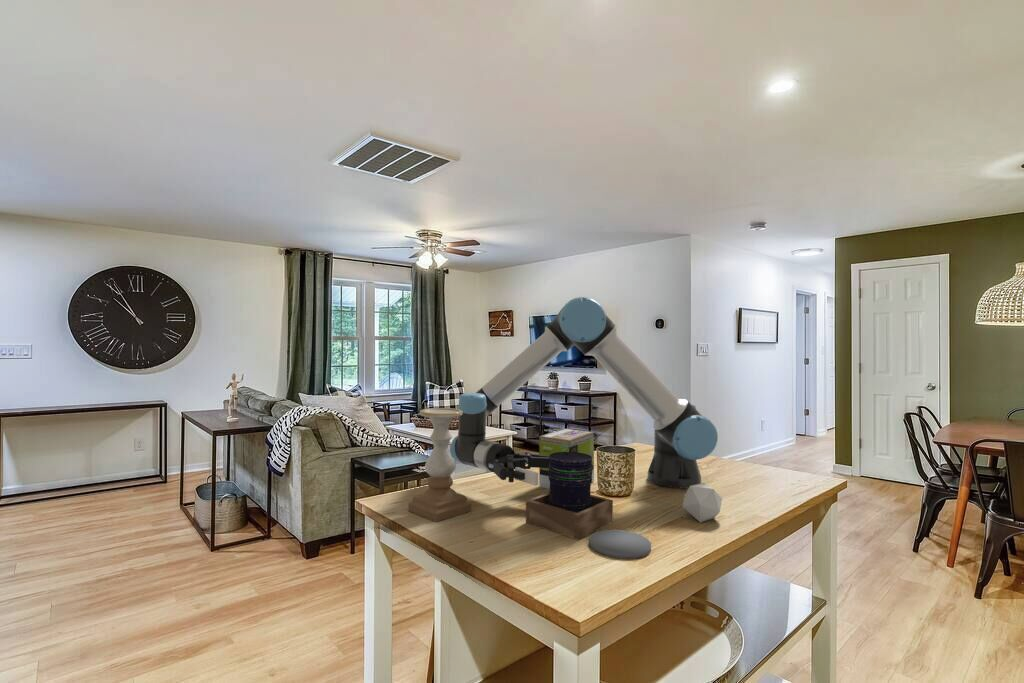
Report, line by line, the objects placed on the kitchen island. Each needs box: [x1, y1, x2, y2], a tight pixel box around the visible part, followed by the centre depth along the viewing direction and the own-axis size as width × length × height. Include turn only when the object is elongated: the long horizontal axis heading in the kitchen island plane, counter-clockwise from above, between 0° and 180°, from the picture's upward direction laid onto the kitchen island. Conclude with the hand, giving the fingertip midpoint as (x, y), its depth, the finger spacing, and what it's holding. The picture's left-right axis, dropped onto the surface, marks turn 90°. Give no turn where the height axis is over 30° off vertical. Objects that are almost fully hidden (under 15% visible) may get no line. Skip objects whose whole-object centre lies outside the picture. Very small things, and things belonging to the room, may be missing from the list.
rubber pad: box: [589, 529, 652, 560], centre depth 103 cm, size 12×12×1 cm
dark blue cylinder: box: [548, 452, 593, 513], centre depth 116 cm, size 10×10×15 cm
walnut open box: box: [525, 491, 614, 540], centre depth 116 cm, size 14×14×5 cm
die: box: [682, 482, 723, 523], centre depth 121 cm, size 8×9×10 cm
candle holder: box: [407, 407, 472, 523], centre depth 122 cm, size 11×11×24 cm
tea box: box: [538, 428, 595, 490], centre depth 147 cm, size 15×10×15 cm
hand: (557, 473), depth 118 cm, fingers open, 13 cm apart
